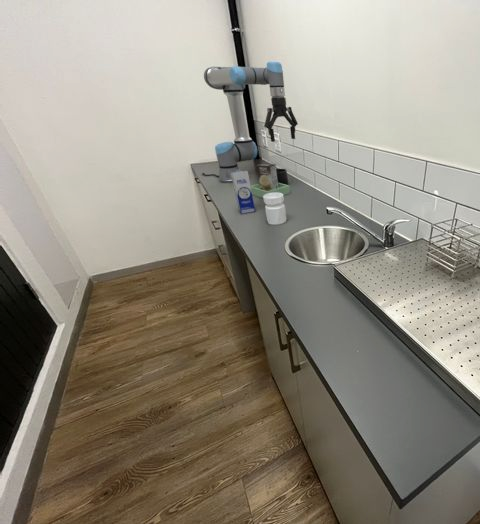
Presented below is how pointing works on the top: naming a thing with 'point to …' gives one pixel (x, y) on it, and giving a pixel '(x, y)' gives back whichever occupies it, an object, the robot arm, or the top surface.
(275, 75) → the robot arm
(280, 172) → the mug
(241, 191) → the milk carton
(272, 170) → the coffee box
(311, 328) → the top surface
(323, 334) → the top surface
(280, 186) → the bin
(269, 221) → the white pill bottle
